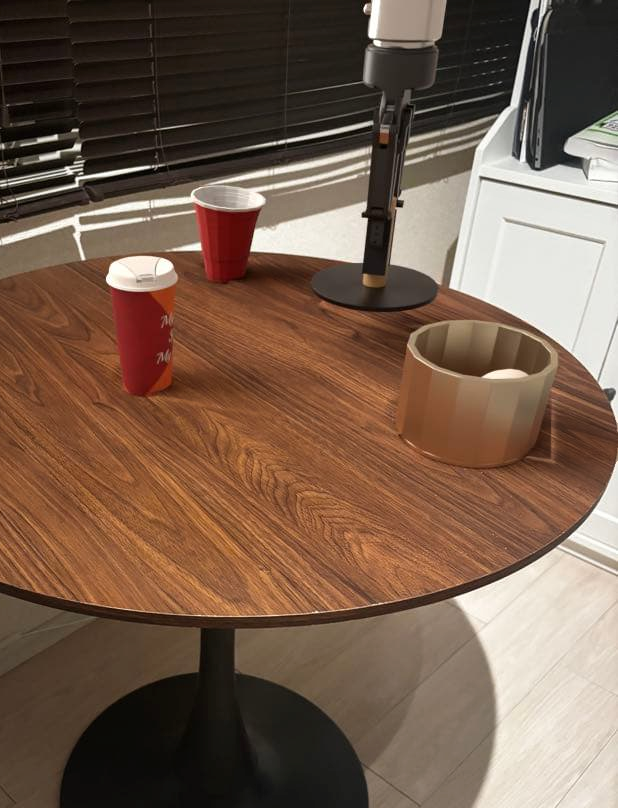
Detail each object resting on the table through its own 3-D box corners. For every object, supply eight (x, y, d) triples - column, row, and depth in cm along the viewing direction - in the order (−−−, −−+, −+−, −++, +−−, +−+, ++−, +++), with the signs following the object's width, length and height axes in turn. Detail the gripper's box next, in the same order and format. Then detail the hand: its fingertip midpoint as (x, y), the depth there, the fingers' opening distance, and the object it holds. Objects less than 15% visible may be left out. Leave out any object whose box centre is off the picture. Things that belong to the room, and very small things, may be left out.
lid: (443, 278, 104) (458, 186, 97) (429, 324, 92) (446, 222, 85) (325, 266, 108) (332, 176, 101) (297, 308, 96) (303, 210, 89)
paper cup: (186, 397, 92) (184, 275, 84) (119, 404, 91) (110, 281, 82) (173, 367, 98) (170, 251, 90) (110, 373, 97) (100, 256, 88)
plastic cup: (251, 293, 117) (254, 207, 110) (181, 284, 120) (179, 200, 113) (271, 269, 125) (275, 187, 118) (205, 261, 128) (205, 181, 121)
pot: (535, 411, 90) (558, 330, 84) (532, 479, 79) (558, 391, 73) (405, 391, 94) (418, 312, 88) (385, 453, 83) (399, 368, 77)
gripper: (379, 33, 91) (357, 245, 105) (352, 51, 79) (332, 288, 93) (447, 35, 89) (415, 251, 103) (430, 53, 77) (397, 295, 91)
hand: (376, 268), depth 98 cm, fingers closed on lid, 3 cm apart
